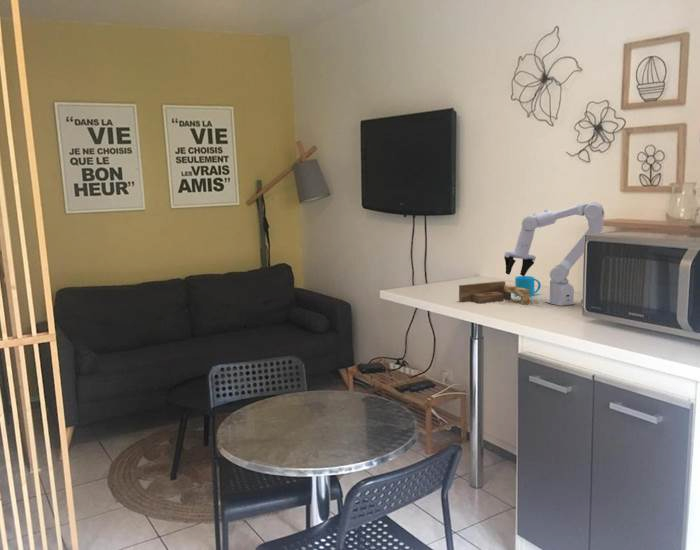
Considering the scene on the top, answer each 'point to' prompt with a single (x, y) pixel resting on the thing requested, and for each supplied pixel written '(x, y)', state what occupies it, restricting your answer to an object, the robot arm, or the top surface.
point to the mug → (527, 284)
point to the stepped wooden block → (482, 292)
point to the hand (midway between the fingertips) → (514, 274)
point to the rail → (519, 291)
